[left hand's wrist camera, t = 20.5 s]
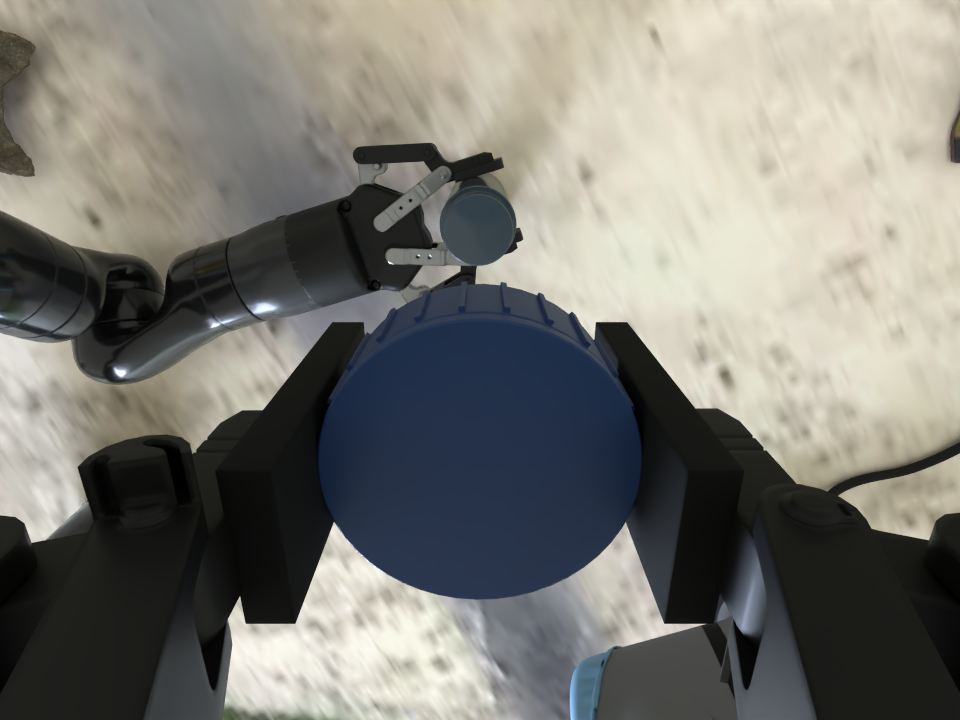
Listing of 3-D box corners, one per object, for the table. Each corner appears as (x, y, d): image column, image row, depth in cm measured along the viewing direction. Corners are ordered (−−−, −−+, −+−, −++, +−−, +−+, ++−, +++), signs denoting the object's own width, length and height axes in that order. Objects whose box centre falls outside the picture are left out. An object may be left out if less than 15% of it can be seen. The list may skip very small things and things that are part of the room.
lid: (289, 362, 12) (244, 415, 9) (541, 226, 11) (558, 248, 8) (431, 560, 13) (421, 643, 11) (658, 460, 12) (696, 529, 10)
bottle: (514, 183, 49) (531, 207, 33) (493, 236, 50) (500, 282, 35) (462, 162, 48) (454, 175, 32) (442, 216, 50) (426, 254, 34)
